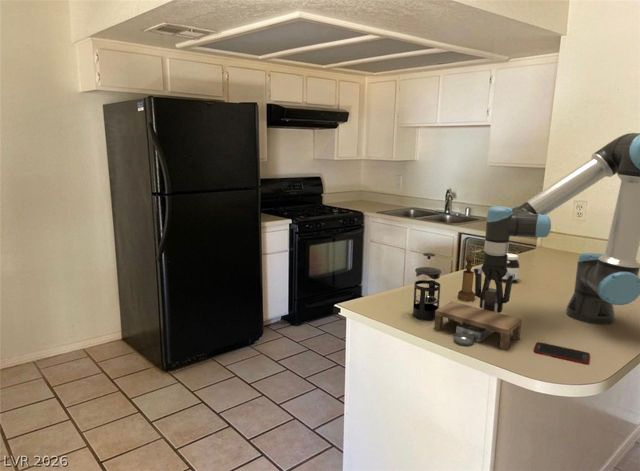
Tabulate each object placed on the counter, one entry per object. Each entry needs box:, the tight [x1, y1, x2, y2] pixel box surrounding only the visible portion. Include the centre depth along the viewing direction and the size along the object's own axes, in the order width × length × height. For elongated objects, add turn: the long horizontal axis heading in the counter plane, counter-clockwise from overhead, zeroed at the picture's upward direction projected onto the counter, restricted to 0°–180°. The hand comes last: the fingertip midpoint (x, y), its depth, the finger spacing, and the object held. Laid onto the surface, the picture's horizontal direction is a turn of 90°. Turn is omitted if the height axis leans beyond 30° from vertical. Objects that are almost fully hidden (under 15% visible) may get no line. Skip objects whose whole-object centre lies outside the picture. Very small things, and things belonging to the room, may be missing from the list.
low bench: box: [433, 300, 523, 351], centre depth 153 cm, size 24×12×6 cm, turn 49°
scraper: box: [455, 287, 497, 343], centre depth 155 cm, size 8×19×12 cm, turn 138°
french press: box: [411, 252, 442, 322], centre depth 167 cm, size 12×9×23 cm
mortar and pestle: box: [457, 254, 476, 302], centre depth 185 cm, size 7×6×18 cm
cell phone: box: [533, 341, 591, 366], centre depth 140 cm, size 8×15×1 cm, turn 59°
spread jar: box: [502, 252, 521, 283], centre depth 212 cm, size 12×11×12 cm
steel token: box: [453, 332, 475, 347], centre depth 147 cm, size 6×6×2 cm
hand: (489, 318), depth 162 cm, fingers closed on scraper, 3 cm apart
